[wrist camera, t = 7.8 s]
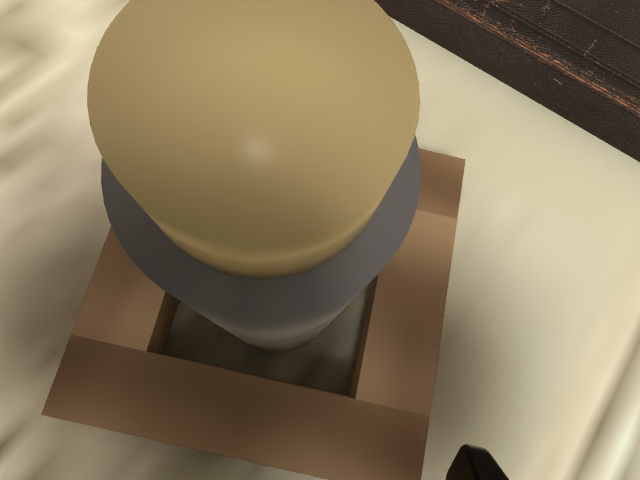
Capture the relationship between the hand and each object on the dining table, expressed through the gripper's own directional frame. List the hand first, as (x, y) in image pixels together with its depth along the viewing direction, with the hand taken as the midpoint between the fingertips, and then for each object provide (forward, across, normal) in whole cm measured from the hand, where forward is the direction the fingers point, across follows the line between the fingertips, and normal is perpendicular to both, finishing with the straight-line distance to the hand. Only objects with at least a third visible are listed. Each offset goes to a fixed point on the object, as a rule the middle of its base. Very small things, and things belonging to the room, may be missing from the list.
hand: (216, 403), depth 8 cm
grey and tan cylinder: (+9, 0, +3) cm, 10 cm away
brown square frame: (+9, 0, +3) cm, 10 cm away
